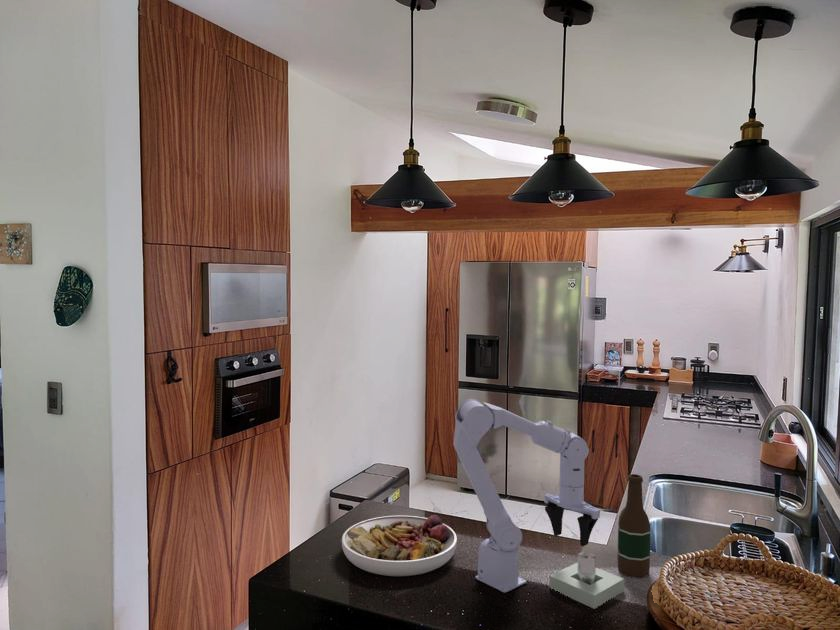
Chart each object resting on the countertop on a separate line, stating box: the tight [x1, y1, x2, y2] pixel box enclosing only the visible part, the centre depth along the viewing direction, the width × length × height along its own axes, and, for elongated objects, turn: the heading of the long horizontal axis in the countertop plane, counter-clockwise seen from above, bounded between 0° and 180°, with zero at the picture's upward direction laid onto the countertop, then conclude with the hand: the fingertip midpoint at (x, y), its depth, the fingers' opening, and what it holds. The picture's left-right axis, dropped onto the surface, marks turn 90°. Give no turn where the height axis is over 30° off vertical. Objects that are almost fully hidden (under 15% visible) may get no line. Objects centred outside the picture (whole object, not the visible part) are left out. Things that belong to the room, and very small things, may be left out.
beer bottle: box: [617, 473, 651, 579], centre depth 151 cm, size 8×8×24 cm
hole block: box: [549, 561, 625, 610], centre depth 142 cm, size 12×12×3 cm
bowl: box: [341, 514, 458, 577], centre depth 161 cm, size 30×30×8 cm
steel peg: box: [577, 551, 597, 585], centre depth 142 cm, size 4×4×8 cm
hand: (570, 539), depth 147 cm, fingers open, 7 cm apart
